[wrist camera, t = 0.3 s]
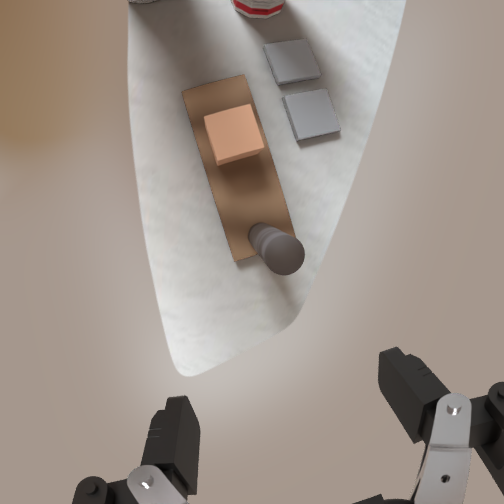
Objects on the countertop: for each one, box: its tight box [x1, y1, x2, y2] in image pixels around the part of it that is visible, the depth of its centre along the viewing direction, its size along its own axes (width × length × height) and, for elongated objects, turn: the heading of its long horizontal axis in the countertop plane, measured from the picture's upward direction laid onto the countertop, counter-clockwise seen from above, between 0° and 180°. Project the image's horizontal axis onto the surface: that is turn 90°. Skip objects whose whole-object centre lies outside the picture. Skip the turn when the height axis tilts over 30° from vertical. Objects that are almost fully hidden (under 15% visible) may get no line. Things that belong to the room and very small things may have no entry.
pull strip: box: [182, 75, 305, 275], centre depth 29 cm, size 22×8×14 cm, turn 17°
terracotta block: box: [204, 104, 264, 166], centre depth 32 cm, size 5×5×5 cm
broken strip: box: [263, 39, 341, 141], centre depth 35 cm, size 14×6×1 cm, turn 17°
